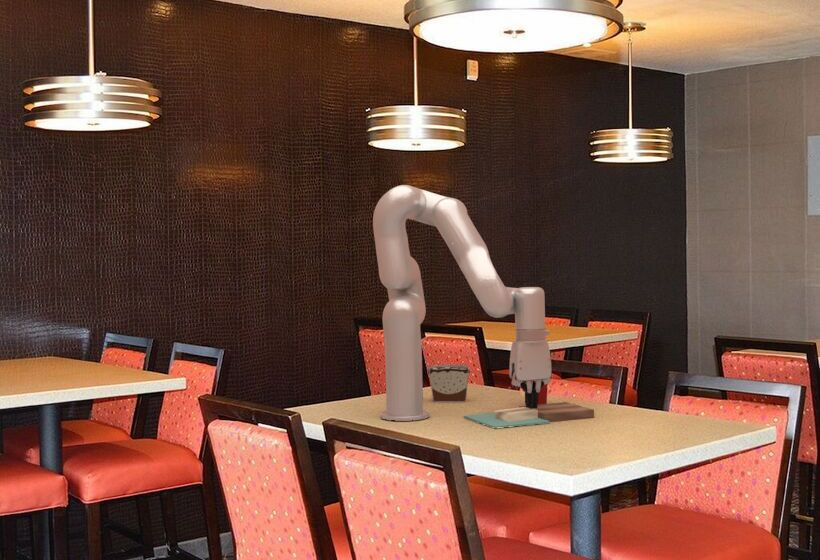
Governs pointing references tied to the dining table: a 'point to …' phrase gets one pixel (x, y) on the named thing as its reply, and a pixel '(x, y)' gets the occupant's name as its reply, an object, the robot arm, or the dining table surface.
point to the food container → (449, 382)
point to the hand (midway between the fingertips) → (531, 407)
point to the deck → (563, 412)
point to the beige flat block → (516, 414)
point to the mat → (491, 421)
